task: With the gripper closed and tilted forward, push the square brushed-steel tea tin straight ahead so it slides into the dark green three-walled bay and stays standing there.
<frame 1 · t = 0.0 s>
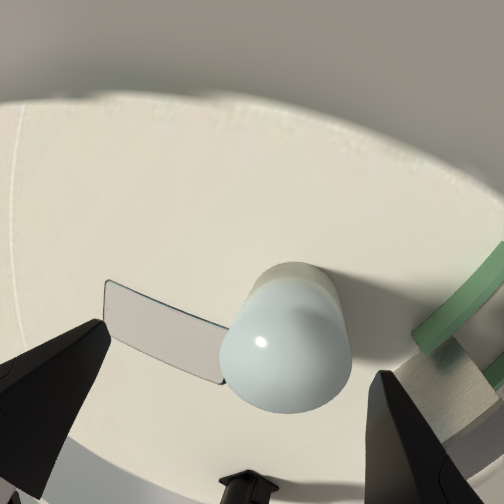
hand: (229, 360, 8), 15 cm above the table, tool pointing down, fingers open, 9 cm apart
tin: (431, 376, 23), on the table
bay: (482, 331, 21), on the table
round-topped grey cylinder: (294, 305, 24), on the table
smartphone: (164, 331, 28), on the table
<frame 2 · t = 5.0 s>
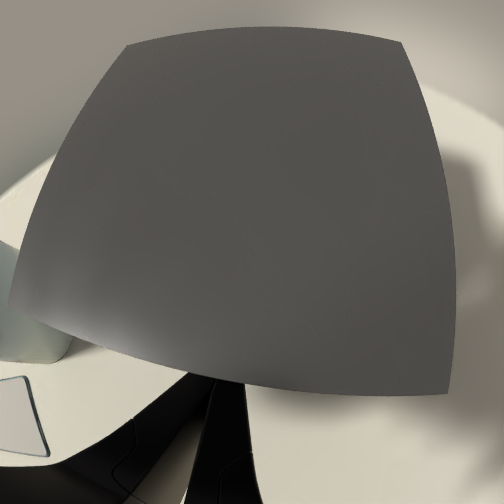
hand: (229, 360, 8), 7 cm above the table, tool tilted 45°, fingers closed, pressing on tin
tin: (267, 276, 16), on the table, touching gripper
round-topped grey cylinder: (43, 314, 17), on the table
smartphone: (1, 416, 15), on the table
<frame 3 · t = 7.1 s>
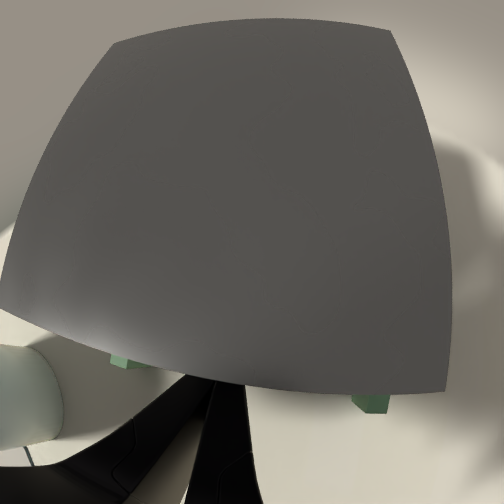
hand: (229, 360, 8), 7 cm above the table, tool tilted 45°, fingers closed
tin: (261, 273, 16), on the table
bay: (266, 278, 16), on the table
round-topped grey cylinder: (31, 394, 15), on the table
smartphone: (6, 469, 13), on the table
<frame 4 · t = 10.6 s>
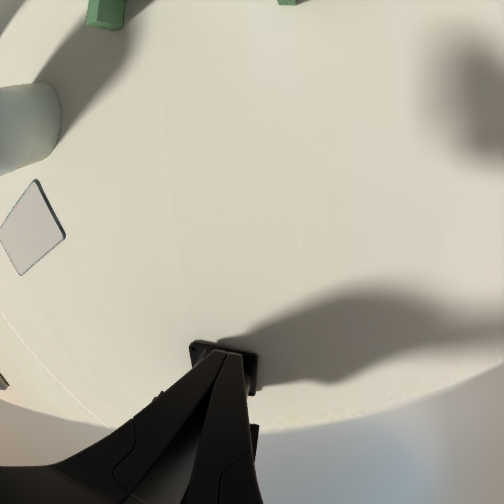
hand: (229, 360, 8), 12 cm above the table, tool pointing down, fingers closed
round-topped grey cylinder: (36, 121, 19), on the table
smartphone: (28, 232, 26), on the table
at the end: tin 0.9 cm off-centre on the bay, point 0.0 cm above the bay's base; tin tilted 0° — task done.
